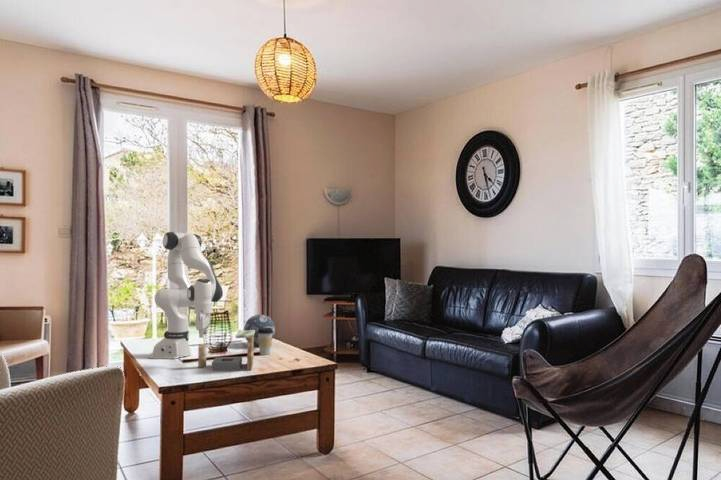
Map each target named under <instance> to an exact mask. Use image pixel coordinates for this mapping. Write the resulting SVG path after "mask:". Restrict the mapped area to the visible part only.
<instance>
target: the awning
mask: <svg viewBox="0 0 721 480" xmlns="http://www.w3.org/2000/svg"><path fill="white" fill-rule="evenodd" d="M254 333H255V330H244V329H240V330H238V332H237V333H236V335H235V338H236V339H246V338H248V341H247V349H246V350H247V355H246V359H247V360H246V361H247V362H246V365H247V366H246V371H252V369H253V365H254V358H255V357H254V355H255V354H254V352H255V351H254V350H255V349H254V347H255V345H254Z"/></svg>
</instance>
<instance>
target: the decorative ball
mask: <svg viewBox="0 0 721 480" xmlns="http://www.w3.org/2000/svg"><path fill="white" fill-rule="evenodd" d="M243 326H244V328H243V330H255V333H254V347H259V342H258V333H257V332H258V331H259V329H260V328H272V330H273V333H272V340H273V339H274V337H275V333H276V326H275V323H274V320H272V319H271V317H270V316H268V315H265V314H255V315H252V316H250V317H249V318H248V319H247V320H246V322H245V324H244V325H243ZM245 340H246V341H247V342H248V338H245Z"/></svg>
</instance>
